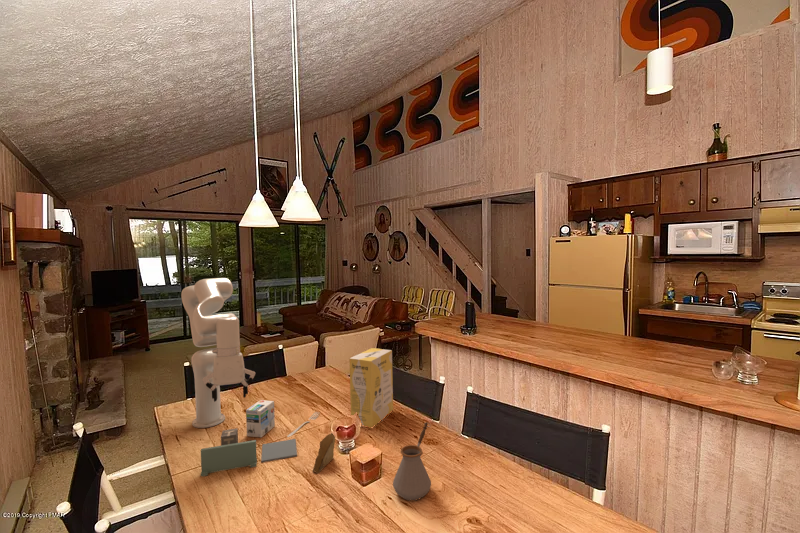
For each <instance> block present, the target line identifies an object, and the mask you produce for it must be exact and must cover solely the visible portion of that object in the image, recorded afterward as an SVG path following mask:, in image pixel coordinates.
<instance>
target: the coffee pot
mask: <svg viewBox="0 0 800 533" xmlns="http://www.w3.org/2000/svg"><path fill="white" fill-rule="evenodd" d="M423 425H424V426H423V427H422V430H421V432H420V433H419V434H420V435H419V439H418V441H417V445H415V444H409V445H408V444H407V445H404V446H403V447H401V448H400V453H401V455H402V459H401V461H400V463H399V466H398V468H397V470H396V473H395V476H394V478H393V481H392V486H393V489H394V491H395V493H396V494H397V495H398V496H399V497H401V498H402V497H403V498H402V499H404V500H406V501H410V500H415V501H417V500H416V499H419V498H421V497H422V498H423V497H426V495H427V494H428V493H429V492H430V490H431V486H432V480H431V478H430V476H429V474H428V471H427V469H426V466H425V465H424V463H423V461H422V456H423V454H424V453H423V449H422V447H420V446H421V443H422V441H423V439H424V438H425V437H424V436H425V435H426V431H427V428H430V427H431V424H430V423H429V422H427V421H426V422H424V423H423ZM428 425H429V426H428ZM422 498H421V499H422ZM419 500H420V499H419Z"/></svg>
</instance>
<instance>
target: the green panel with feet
mask: <svg viewBox="0 0 800 533" xmlns="http://www.w3.org/2000/svg"><path fill="white" fill-rule="evenodd" d="M257 454H258V453H257V440H256V439H253V440H248V441H241V442H238V443H234V444H228V445H222V446H221V445H216V446H211V447H205V448H201V449H200V466H201V467H200V468H201V469H200V477H201V476H202V477H207V476H209V475H208V474H211V473H217V472H223V471H227V470H234V469H237V468H244V467H249V468H257V464H258V458H257V456H258V455H257Z"/></svg>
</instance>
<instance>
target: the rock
mask: <svg viewBox="0 0 800 533" xmlns="http://www.w3.org/2000/svg"><path fill="white" fill-rule="evenodd" d="M335 443H336V435H335V434H334V433H332V432H331V433H329V434H326V436H325V437H323V438H322V440H321V441H320V442H319V449H318V452H317V455H316V458H315V461H314V462H315V463H314V466H313V468H312V472H315V473H320V472H321V471H322V470H323V469H324V468H325V467H326V466H327V465H328V464H329V463H330V462H331V461H332V460H333V459H334V455H335V454H334V453H335V450H334V449H335Z"/></svg>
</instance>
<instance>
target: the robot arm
mask: <svg viewBox="0 0 800 533" xmlns="http://www.w3.org/2000/svg"><path fill="white" fill-rule="evenodd" d="M233 292H234V288H233V283H232V282H231V280H230V279H228V278H227V277H214V278H203V279H199V280H198V281H196V282H195V284H194V285H189V286H186V287H184V288H183V289H182V291H181V293H180V294H181V302H182V304H183V307H184V310H185V312H186V313H187V315H188V318H189V324H190V331H191V337H192V343H193V345H194V346H195V347H197V348H203V347H204V348H205V347H211V348H205V349H200V350H197V351H196V352H194V353H193V354H192V356H191V367H192V371H193V376H194V392H195V394H194V396H195V416H196V417H195V419H193V420H192V422H191V424H192V427H194V428H197V429H203V428H204V429H206V428H211V427H215V426H217V425H219V424H221V423H223V422H224V421H225V419H226V415H225V414H224V413H222V410H221V387H220V386H227V385H234V384H240V383H241V384H242V385H243V386H242V393H243V395H242V397H243V398H244V399H245V398H246V397H247V395H248V393H249V389H248V388H249V387H248V386H249V385H250V383H251V382H252V381H253V379H254V378H255V376H256V372H255V371H254V370H251V369H247V368H245V361H244V360H245V359H244V357H243V353H242V352H241V341H240V338H241V336H240V320H239V317H237V316H236V314H235V313H233V312H232V313H231V312H230V313H220V314H215V313H217V312H218V311H220V310H221V309H223V307H224V304H225V301H227V299H229V298H231V297H232V295H233ZM212 346H216V347H212ZM246 374H247V375H249V378H248V379H246V377H245V376H246Z"/></svg>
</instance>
